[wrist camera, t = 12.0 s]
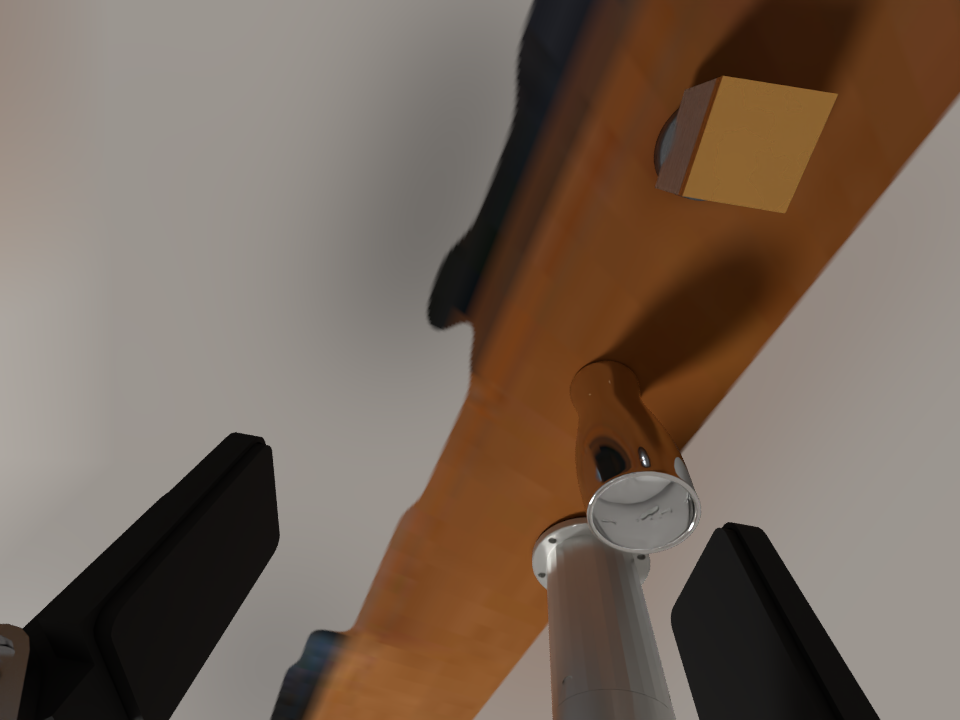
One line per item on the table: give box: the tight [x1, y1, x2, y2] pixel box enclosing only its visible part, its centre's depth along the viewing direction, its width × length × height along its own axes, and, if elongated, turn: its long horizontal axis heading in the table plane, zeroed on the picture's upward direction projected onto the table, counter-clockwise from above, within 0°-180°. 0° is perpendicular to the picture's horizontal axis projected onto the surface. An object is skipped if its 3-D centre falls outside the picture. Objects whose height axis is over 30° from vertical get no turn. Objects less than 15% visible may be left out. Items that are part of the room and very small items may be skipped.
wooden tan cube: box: [655, 76, 838, 213], centre depth 26 cm, size 6×6×6 cm
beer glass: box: [570, 361, 701, 554], centre depth 32 cm, size 7×7×15 cm
